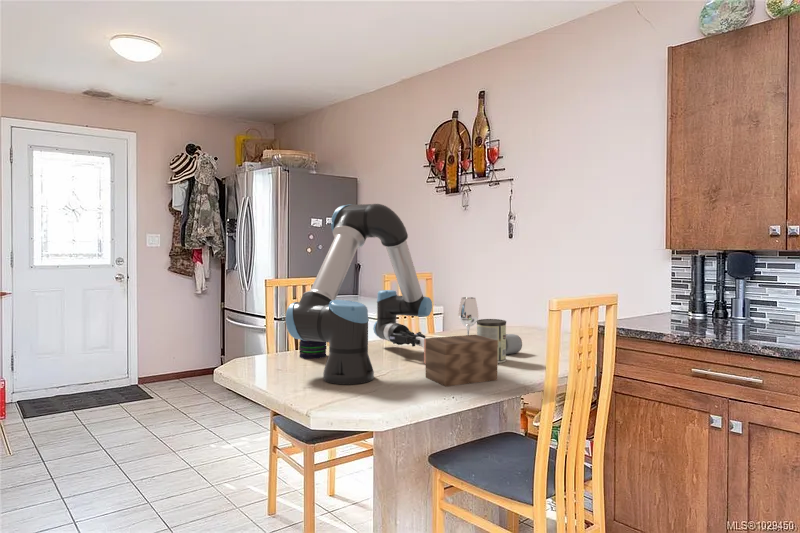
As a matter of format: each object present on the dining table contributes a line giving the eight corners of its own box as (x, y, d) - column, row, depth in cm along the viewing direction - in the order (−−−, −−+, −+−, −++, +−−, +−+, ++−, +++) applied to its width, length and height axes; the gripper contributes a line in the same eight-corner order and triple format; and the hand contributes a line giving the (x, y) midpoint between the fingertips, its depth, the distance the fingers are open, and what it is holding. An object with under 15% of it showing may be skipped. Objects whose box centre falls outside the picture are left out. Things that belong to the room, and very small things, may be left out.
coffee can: (475, 357, 201) (476, 318, 200) (504, 358, 200) (505, 319, 199) (476, 363, 191) (477, 322, 190) (507, 363, 190) (507, 322, 189)
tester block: (445, 386, 158) (445, 344, 158) (425, 377, 169) (425, 338, 169) (497, 380, 166) (497, 340, 166) (475, 371, 177) (475, 334, 177)
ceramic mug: (523, 354, 207) (523, 333, 207) (508, 356, 203) (508, 335, 202) (503, 350, 216) (503, 330, 216) (488, 352, 211) (488, 332, 211)
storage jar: (318, 359, 195) (318, 317, 195) (293, 357, 199) (293, 316, 198) (331, 354, 204) (331, 314, 204) (307, 353, 208) (307, 313, 207)
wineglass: (479, 350, 214) (479, 298, 213) (459, 350, 214) (459, 298, 214) (476, 346, 222) (477, 297, 221) (457, 346, 222) (457, 296, 221)
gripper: (412, 342, 212) (443, 353, 191) (381, 344, 206) (409, 356, 185) (412, 322, 212) (443, 331, 190) (381, 324, 206) (409, 333, 185)
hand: (426, 343), depth 188 cm, fingers closed
